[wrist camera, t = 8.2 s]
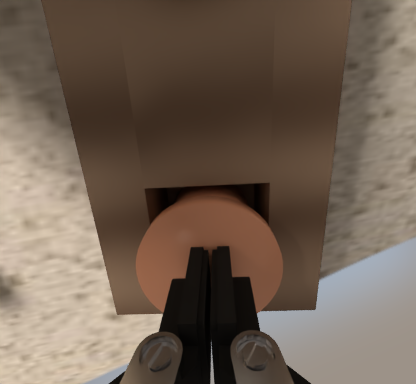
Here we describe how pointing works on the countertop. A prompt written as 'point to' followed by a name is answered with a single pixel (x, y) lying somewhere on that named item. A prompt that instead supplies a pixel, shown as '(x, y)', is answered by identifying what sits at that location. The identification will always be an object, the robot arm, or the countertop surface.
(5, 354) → the countertop surface
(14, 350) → the countertop surface
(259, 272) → the orange-brown round piece
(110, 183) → the wooden shaker caddy
